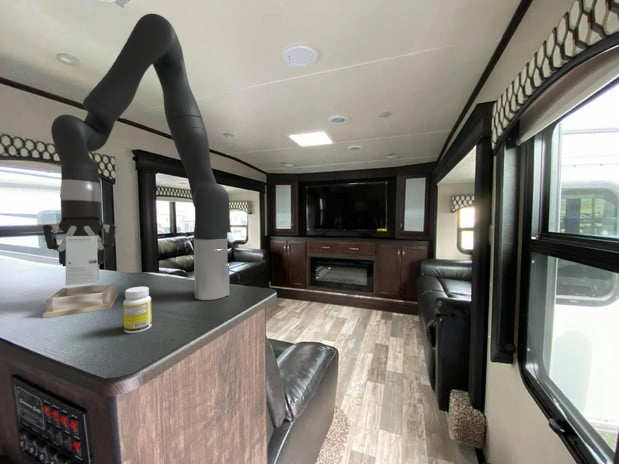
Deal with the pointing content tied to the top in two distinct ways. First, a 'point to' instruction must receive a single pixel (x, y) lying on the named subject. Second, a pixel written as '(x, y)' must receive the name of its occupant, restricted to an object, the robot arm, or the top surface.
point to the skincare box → (81, 260)
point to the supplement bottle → (137, 310)
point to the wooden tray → (80, 300)
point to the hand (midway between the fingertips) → (83, 264)
